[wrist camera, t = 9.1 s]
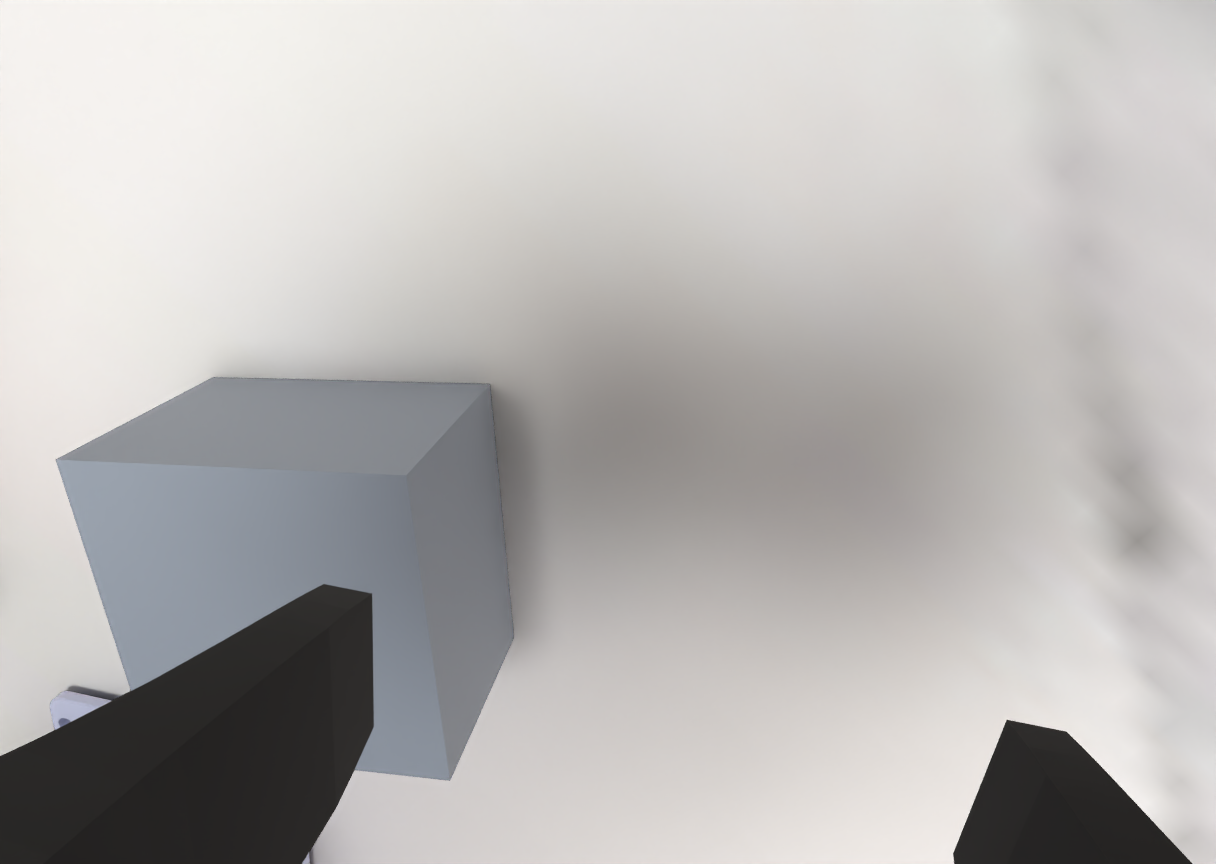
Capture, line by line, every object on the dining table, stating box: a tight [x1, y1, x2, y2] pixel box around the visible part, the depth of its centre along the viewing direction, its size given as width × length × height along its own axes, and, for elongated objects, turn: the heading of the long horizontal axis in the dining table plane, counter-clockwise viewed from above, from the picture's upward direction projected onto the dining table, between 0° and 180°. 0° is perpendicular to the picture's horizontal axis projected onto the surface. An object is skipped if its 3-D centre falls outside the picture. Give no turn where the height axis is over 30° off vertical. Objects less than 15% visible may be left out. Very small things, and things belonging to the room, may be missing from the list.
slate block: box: [56, 377, 514, 781], centre depth 18 cm, size 7×7×5 cm
